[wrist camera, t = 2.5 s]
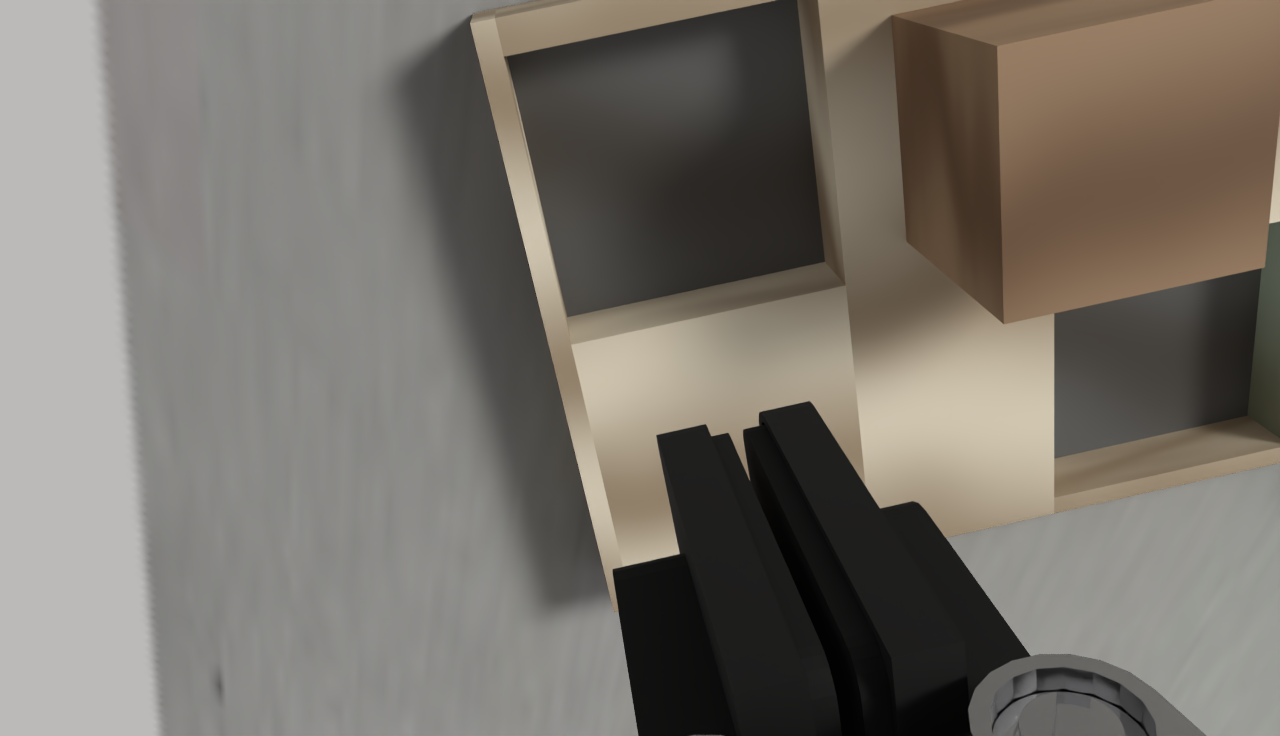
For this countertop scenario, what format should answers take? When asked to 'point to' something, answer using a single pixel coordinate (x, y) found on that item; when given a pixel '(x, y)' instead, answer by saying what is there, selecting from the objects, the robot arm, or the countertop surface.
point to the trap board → (824, 279)
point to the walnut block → (1087, 145)
